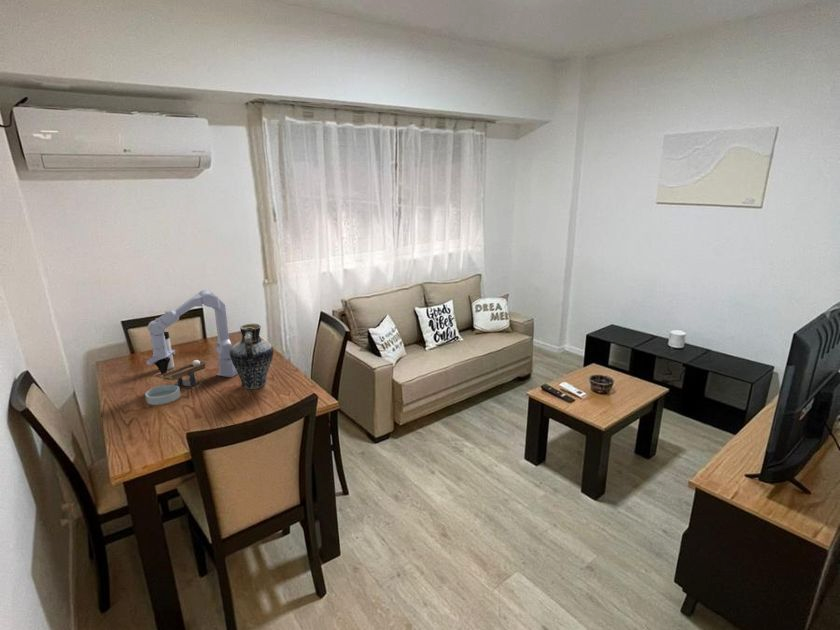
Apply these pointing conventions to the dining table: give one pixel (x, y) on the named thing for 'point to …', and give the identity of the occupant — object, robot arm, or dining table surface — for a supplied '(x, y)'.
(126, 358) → the dining table surface
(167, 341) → the travel mug
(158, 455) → the dining table surface
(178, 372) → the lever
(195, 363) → the ball
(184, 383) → the stand
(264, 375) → the jug
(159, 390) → the bowl
